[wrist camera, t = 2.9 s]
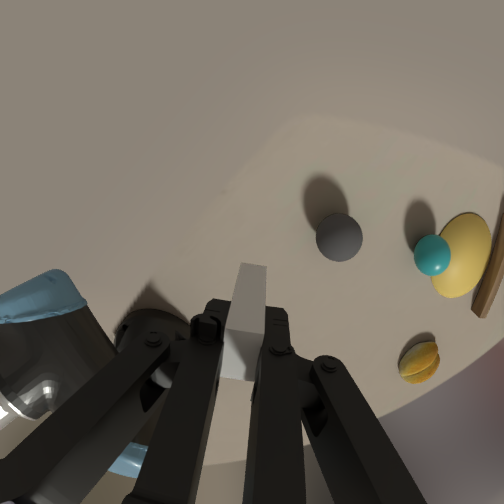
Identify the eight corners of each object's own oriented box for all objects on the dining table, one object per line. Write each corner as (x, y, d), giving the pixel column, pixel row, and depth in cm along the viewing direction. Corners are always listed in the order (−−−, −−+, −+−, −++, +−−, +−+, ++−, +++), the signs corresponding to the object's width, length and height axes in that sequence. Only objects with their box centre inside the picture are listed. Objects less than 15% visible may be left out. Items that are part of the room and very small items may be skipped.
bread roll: (432, 331, 38) (442, 344, 34) (437, 360, 40) (446, 373, 37) (392, 355, 40) (400, 370, 36) (401, 382, 42) (408, 396, 39)
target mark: (418, 293, 35) (418, 294, 35) (445, 203, 31) (446, 204, 30) (473, 299, 35) (474, 300, 35) (498, 223, 31) (499, 224, 30)
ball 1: (308, 248, 34) (315, 265, 29) (317, 205, 32) (326, 215, 27) (349, 254, 34) (361, 272, 29) (358, 213, 32) (374, 224, 27)
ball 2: (402, 263, 34) (420, 280, 29) (413, 226, 32) (433, 238, 27) (431, 268, 34) (449, 284, 29) (441, 233, 32) (463, 245, 27)
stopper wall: (470, 309, 36) (479, 318, 33) (503, 213, 30) (514, 217, 27) (477, 310, 36) (485, 318, 33) (508, 215, 30) (519, 220, 27)
